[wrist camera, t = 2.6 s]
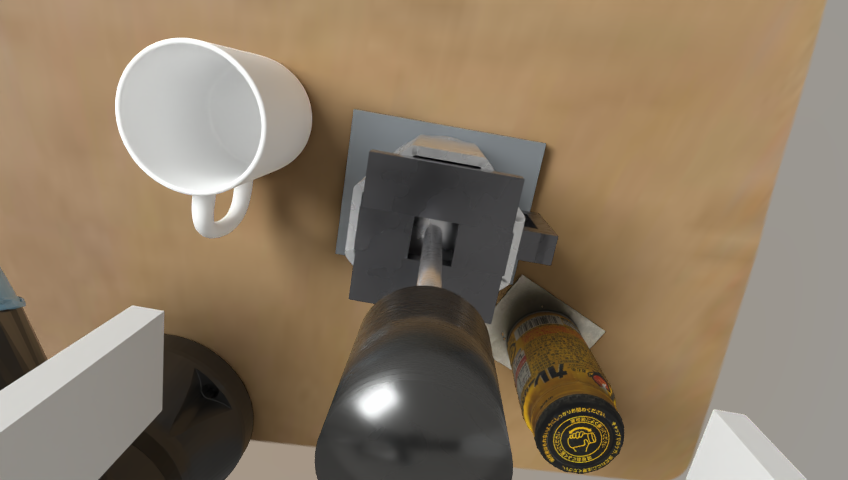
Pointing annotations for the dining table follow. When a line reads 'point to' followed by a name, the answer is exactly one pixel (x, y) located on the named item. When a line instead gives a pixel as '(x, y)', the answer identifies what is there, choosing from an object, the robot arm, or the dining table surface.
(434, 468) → the plunger
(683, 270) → the dining table surface
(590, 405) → the condiment
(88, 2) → the dining table surface
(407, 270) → the carafe
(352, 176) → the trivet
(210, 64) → the cup
